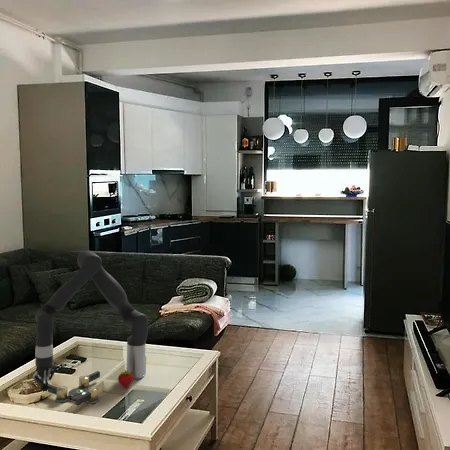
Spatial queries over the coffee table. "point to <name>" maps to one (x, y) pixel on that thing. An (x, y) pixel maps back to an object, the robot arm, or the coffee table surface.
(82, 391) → the levelling base
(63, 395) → the foot screw
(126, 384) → the strawberry
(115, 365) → the coffee table surface
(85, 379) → the footscrew back
